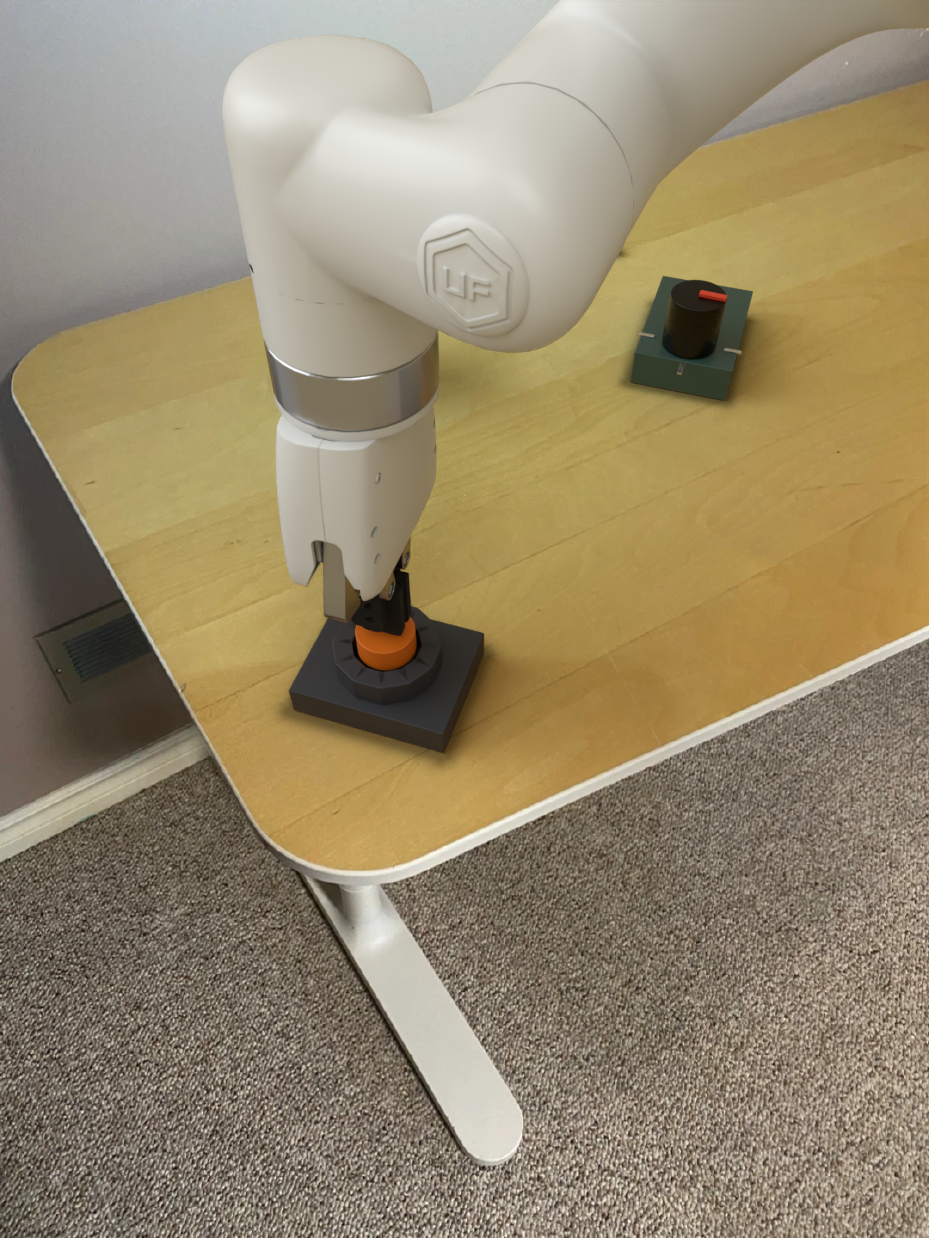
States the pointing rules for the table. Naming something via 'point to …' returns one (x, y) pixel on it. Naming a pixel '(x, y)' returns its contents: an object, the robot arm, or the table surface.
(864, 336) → the table surface
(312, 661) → the push button box
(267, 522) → the table surface
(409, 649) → the round orange button
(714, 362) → the dial panel
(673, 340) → the dial
